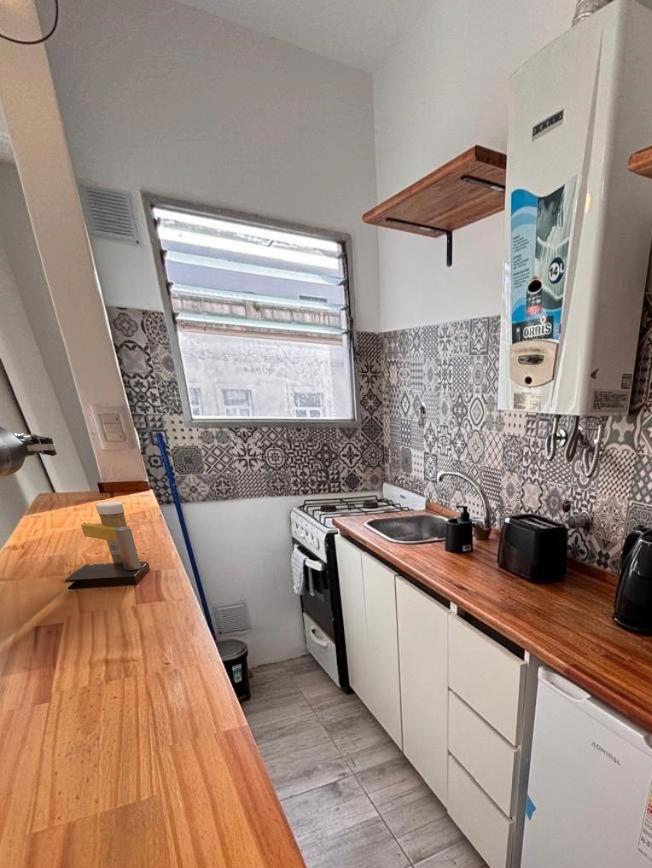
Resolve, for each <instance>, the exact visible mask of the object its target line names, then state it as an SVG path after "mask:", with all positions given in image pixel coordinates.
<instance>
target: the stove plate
mask: <svg viewBox="0 0 652 868" xmlns="http://www.w3.org/2000/svg"><path fill="white" fill-rule="evenodd" d="M139 562H140V565H141V568H140V569H137V570H125V569H124V565H123V563H113V562H110V563H109V562H108V563H92V564H91V563H90V564H83V565H82V566H81V567H80V568H78V569H77V570H76V571H75V572H74V573H72V574H71V575H70V576H68V577H67V578H66V579H65V580H64V582H66V583H68V582H73V583H71V584H70V585H69V586H67V589H68V590H76V589H91V588H105V587H106V588H107V587H123V586H136V585H138V584H139V583H140V582H141V581H142V580H143V578H144V577H145V576H146V575H147V573H149V571H150V570H151V567H150V564H149V561H148V560H146V561H145V560H144V561H139Z"/></svg>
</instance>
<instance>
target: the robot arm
mask: <svg viewBox="0 0 652 868" xmlns="http://www.w3.org/2000/svg"><path fill="white" fill-rule="evenodd" d="M37 453H38V454H41V455H42V456H44V455H47V456H50V457H55V456H57V455H58V453H57V450H56V447H55V443H54V440H53V438H52V437H48V436H43V435H38V434H34V433H33V434H32V433H12V432H11V431H10V430H8V429H7V428H5V427H3V426H1V425H0V479H1V478H5V477H7V476H10V475H14V474H15V473H17V472H19V470H21V469H22V467H23V466H24V463H25V461H26V458H29V457H32V456H35V455H36V454H37Z"/></svg>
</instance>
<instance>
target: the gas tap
mask: <svg viewBox="0 0 652 868" xmlns="http://www.w3.org/2000/svg"><path fill="white" fill-rule="evenodd" d="M80 526H81V530H82V532H83V537H88V538H93V539H98V540H103V541H107V540H109V541H115V542H117V544H118V547H119V551H120V554H121V558H122V562H123V565H124V569H125V570H137V569H140V568H141V565H140V562H141V561H140V558H139V554H138V551H137V547H136V543H135V539H134V536H133V532H132V528H131V527H130V526H127V527H118V528H116V527H110V526H104V525H102V524H98V523H97V524H96V523H91V522H87V523H86V522H85V523H82V524H80Z"/></svg>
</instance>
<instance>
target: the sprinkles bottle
mask: <svg viewBox="0 0 652 868" xmlns="http://www.w3.org/2000/svg"><path fill="white" fill-rule="evenodd" d="M95 508H96V512H97V514H98V516H99V518H100V521H101V522H100V523H101V525H104V526H110V527H116V528H118V527H128V523H127V521H126V517H125V508H124V505H123V502H121V501H104V502H98V503H96V504H95ZM106 544H107V547H108V550H109V553H110V556H111V559H112V563H123V562H122V558H121V554H120V551H119V547H118V544H117V542H115V541H109V540H106Z"/></svg>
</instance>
